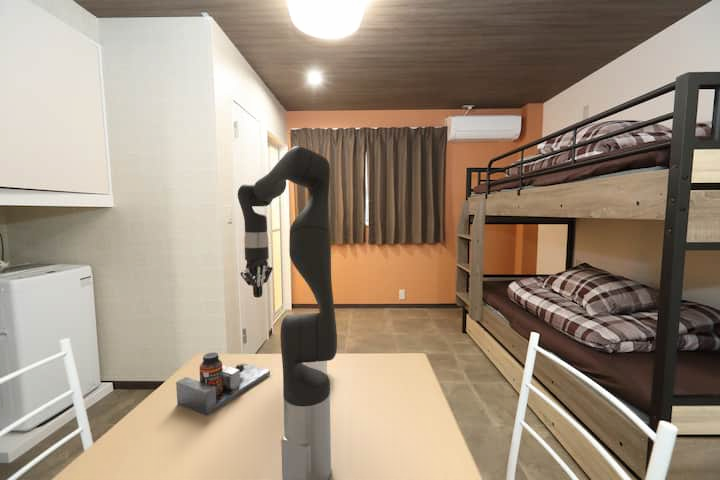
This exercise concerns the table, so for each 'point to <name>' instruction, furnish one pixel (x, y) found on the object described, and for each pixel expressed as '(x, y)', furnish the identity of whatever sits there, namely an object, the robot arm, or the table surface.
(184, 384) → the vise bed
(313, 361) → the robot arm
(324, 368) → the cylinder with rectangular tab
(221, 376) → the supplement bottle
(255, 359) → the table surface
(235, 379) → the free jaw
